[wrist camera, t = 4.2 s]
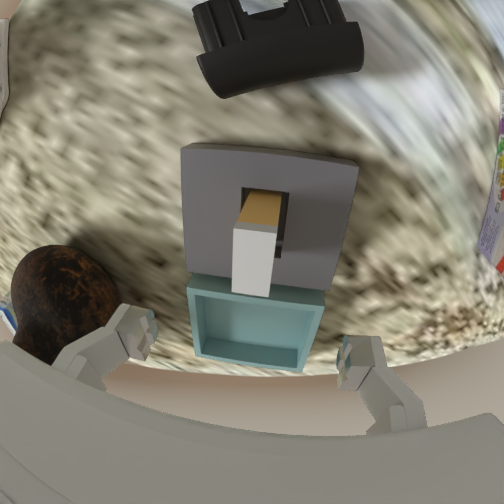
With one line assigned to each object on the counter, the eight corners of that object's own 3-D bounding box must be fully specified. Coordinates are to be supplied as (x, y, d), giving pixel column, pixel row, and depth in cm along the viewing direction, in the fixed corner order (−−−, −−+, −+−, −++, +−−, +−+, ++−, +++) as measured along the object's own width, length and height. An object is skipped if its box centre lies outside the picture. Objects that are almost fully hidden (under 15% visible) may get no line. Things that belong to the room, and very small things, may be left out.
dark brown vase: (33, 235, 31) (-80, 358, 8) (108, 216, 27) (-62, 416, 4) (81, 322, 40) (7, 445, 16) (160, 329, 36) (84, 506, 13)
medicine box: (45, 313, 42) (23, 342, 35) (35, 310, 43) (13, 336, 35) (28, 282, 38) (2, 310, 31) (18, 280, 39) (-6, 306, 31)
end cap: (232, 100, 20) (208, 100, 14) (209, 30, 16) (178, 8, 11) (350, 75, 17) (373, 66, 11) (325, 3, 14) (337, -29, 8)
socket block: (191, 143, 22) (180, 148, 20) (352, 160, 21) (359, 167, 19) (194, 257, 28) (186, 271, 26) (327, 275, 27) (329, 290, 25)
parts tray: (196, 267, 29) (186, 287, 26) (322, 284, 28) (325, 306, 25) (202, 336, 35) (195, 356, 32) (302, 350, 34) (301, 372, 31)
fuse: (252, 187, 23) (233, 228, 16) (282, 190, 23) (276, 233, 16) (248, 237, 26) (231, 292, 19) (276, 240, 25) (268, 297, 19)
